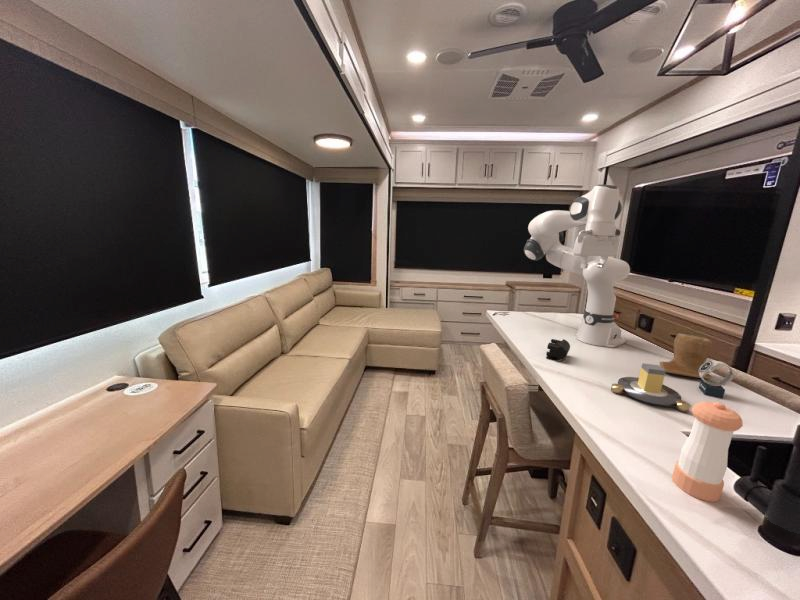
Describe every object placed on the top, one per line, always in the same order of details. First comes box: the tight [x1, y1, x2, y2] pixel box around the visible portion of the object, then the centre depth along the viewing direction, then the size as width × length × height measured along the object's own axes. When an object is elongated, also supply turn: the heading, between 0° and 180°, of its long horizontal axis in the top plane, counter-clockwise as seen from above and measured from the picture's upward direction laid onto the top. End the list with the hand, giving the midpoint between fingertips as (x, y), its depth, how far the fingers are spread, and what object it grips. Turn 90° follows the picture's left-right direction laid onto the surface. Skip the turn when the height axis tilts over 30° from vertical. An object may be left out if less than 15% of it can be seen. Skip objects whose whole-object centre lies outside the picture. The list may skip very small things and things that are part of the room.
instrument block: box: [638, 362, 667, 393], centre depth 98 cm, size 4×4×8 cm
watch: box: [698, 360, 735, 399], centre depth 101 cm, size 6×8×11 cm
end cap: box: [545, 338, 571, 362], centre depth 127 cm, size 10×7×7 cm
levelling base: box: [610, 376, 691, 413], centre depth 98 cm, size 19×19×2 cm
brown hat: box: [659, 333, 713, 380], centre depth 115 cm, size 15×12×15 cm
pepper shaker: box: [671, 401, 744, 503], centre depth 62 cm, size 7×7×19 cm
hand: (592, 268), depth 118 cm, fingers open, 8 cm apart
